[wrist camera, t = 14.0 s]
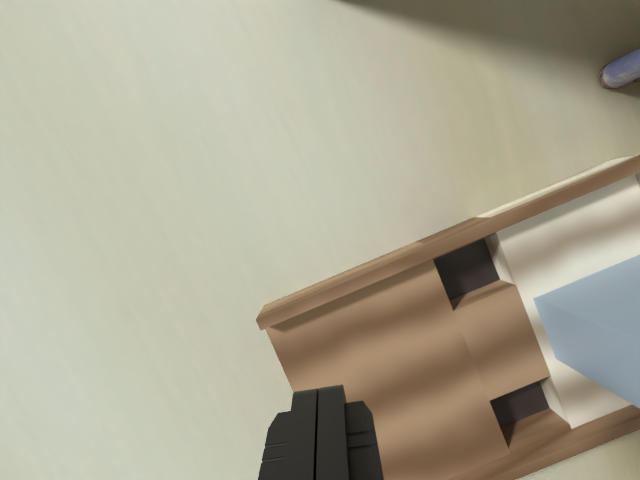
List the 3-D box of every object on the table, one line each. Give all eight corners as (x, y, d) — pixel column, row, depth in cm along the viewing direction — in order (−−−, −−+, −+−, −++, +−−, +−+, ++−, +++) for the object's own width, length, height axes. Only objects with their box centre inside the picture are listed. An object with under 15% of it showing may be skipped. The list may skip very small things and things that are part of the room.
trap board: (264, 305, 33) (256, 319, 28) (610, 160, 32) (658, 151, 27) (350, 500, 34) (355, 543, 30) (682, 365, 33) (739, 388, 29)
